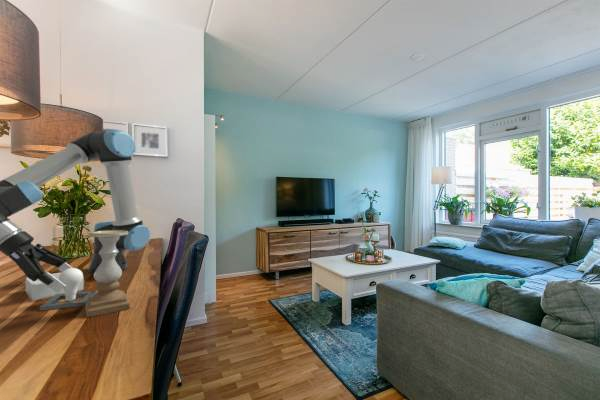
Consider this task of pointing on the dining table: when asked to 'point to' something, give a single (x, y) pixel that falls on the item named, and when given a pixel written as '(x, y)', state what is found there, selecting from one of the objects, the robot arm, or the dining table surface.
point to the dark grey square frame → (54, 305)
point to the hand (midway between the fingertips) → (70, 283)
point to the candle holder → (107, 278)
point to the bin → (45, 288)
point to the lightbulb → (71, 282)
